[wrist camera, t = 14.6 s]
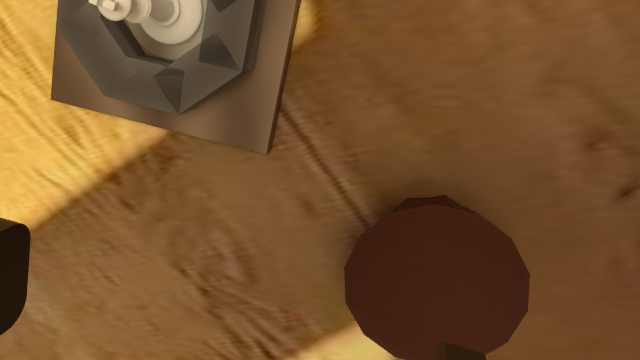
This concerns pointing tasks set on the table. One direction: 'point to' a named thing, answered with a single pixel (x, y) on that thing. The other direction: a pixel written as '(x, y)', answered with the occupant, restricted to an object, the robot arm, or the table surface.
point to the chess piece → (159, 17)
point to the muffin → (436, 280)
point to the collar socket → (181, 70)
